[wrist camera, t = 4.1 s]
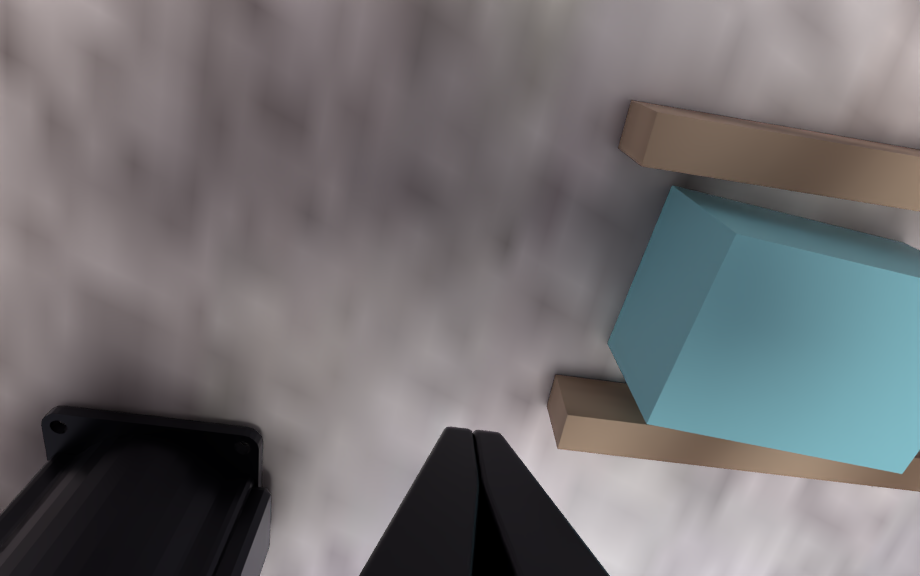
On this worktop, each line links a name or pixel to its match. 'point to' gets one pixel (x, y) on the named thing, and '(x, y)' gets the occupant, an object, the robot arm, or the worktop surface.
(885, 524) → the worktop surface
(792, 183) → the guide channel
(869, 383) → the block
